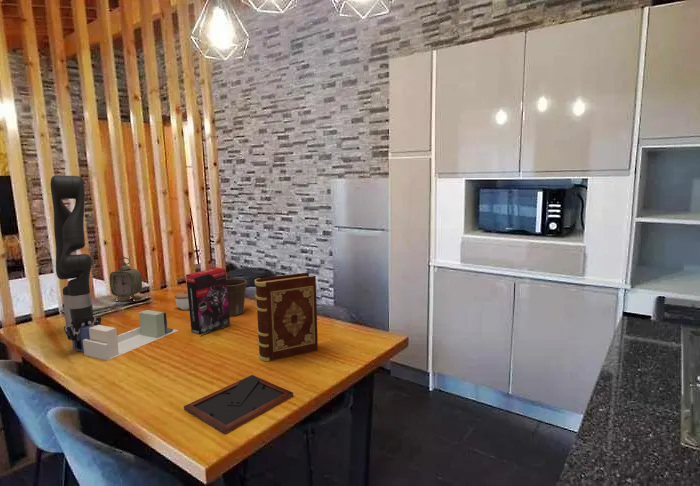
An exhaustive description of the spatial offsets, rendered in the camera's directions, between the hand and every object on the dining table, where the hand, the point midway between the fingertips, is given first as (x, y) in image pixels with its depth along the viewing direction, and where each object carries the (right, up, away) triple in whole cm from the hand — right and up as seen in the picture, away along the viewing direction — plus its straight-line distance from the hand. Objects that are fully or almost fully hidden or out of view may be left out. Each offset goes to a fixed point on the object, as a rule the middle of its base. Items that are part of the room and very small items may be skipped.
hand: (85, 346), depth 167 cm
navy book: (0, -2, 0) cm, 2 cm away
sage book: (+20, +1, +15) cm, 25 cm away
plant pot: (+45, +5, +47) cm, 66 cm away
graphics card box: (+42, +1, +23) cm, 48 cm away
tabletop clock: (-21, +8, +73) cm, 77 cm away
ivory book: (+11, -2, -5) cm, 12 cm away
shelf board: (+16, -1, +7) cm, 18 cm away
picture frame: (+72, -8, -40) cm, 82 cm away
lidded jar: (+18, +6, +56) cm, 59 cm away
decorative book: (+81, -2, -4) cm, 81 cm away
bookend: (+22, +2, +19) cm, 29 cm away
